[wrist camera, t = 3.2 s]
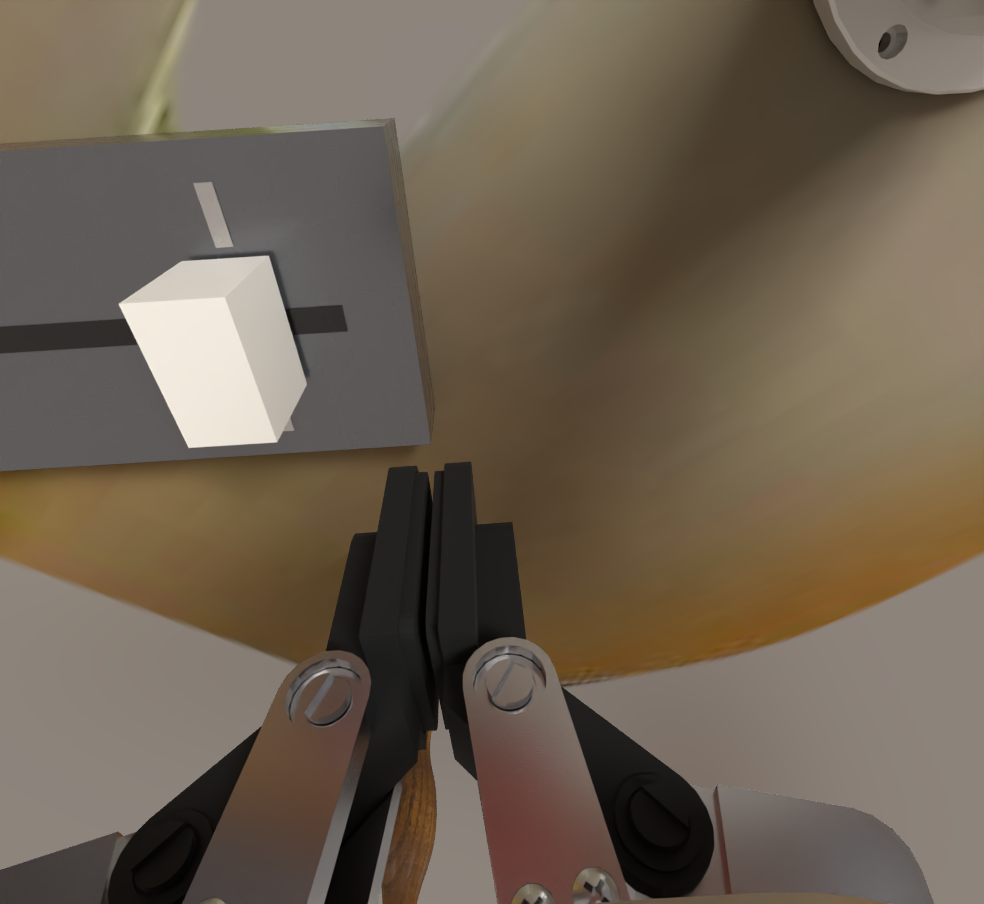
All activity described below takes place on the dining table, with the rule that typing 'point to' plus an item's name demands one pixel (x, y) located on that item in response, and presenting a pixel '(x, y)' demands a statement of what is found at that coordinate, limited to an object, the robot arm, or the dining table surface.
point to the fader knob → (219, 349)
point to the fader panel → (201, 236)
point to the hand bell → (412, 834)
